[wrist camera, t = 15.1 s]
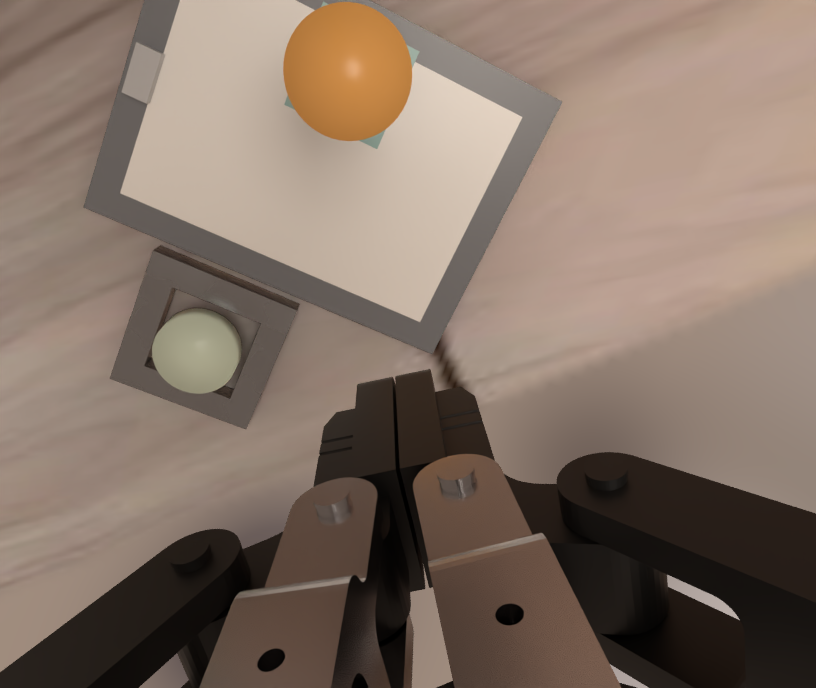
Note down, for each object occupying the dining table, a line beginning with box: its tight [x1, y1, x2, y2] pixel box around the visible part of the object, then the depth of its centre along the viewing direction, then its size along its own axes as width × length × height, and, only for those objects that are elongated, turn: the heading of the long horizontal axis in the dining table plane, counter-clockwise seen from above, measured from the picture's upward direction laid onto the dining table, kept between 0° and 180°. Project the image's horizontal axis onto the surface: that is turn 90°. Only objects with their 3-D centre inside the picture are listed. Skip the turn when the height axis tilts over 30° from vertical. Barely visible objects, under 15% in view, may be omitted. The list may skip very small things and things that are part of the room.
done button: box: [152, 308, 242, 394], centre depth 35 cm, size 4×4×1 cm
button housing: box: [110, 245, 299, 429], centre depth 36 cm, size 8×8×1 cm
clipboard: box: [84, 0, 562, 354], centre depth 33 cm, size 20×15×1 cm
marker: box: [283, 2, 412, 141], centre depth 25 cm, size 4×4×13 cm
